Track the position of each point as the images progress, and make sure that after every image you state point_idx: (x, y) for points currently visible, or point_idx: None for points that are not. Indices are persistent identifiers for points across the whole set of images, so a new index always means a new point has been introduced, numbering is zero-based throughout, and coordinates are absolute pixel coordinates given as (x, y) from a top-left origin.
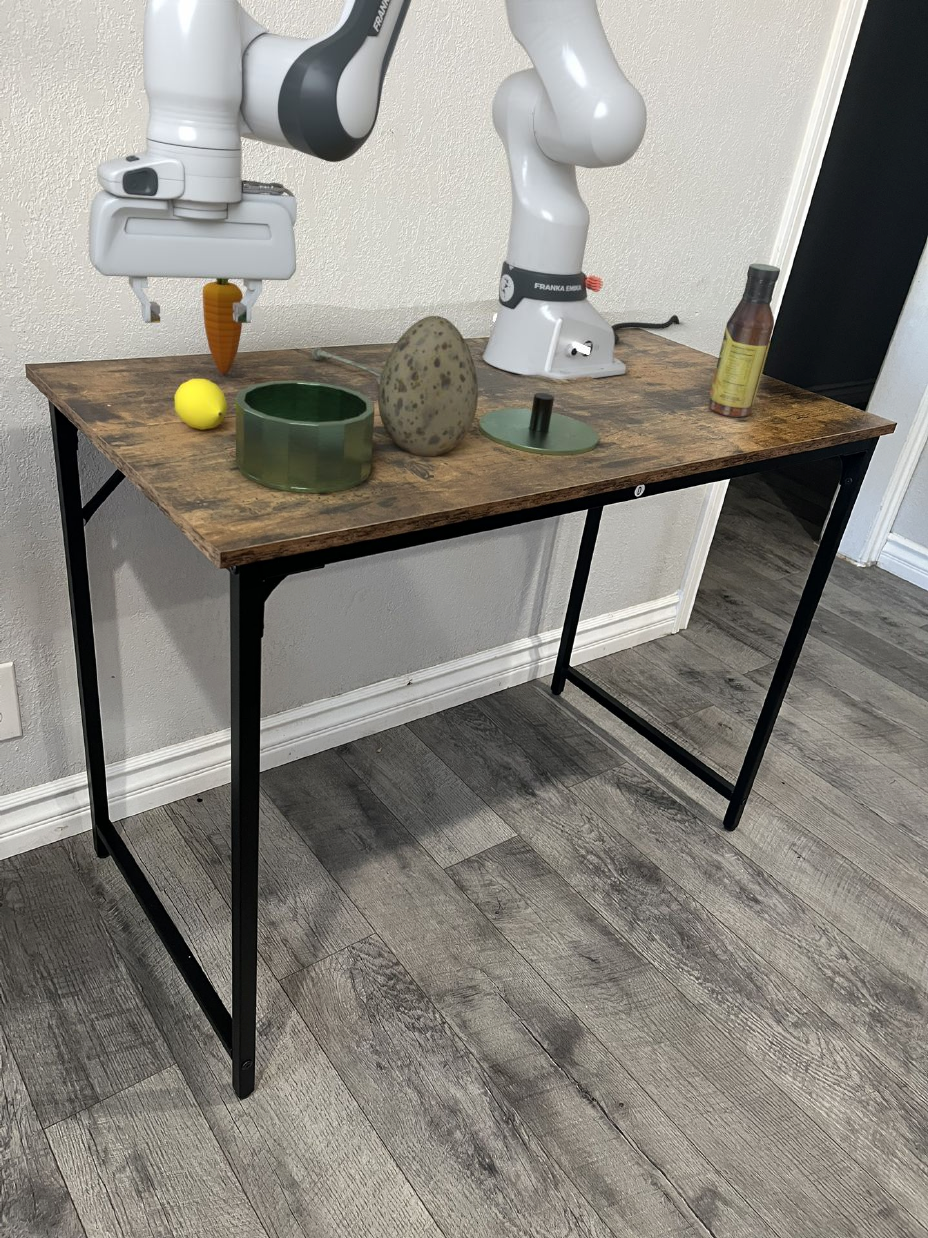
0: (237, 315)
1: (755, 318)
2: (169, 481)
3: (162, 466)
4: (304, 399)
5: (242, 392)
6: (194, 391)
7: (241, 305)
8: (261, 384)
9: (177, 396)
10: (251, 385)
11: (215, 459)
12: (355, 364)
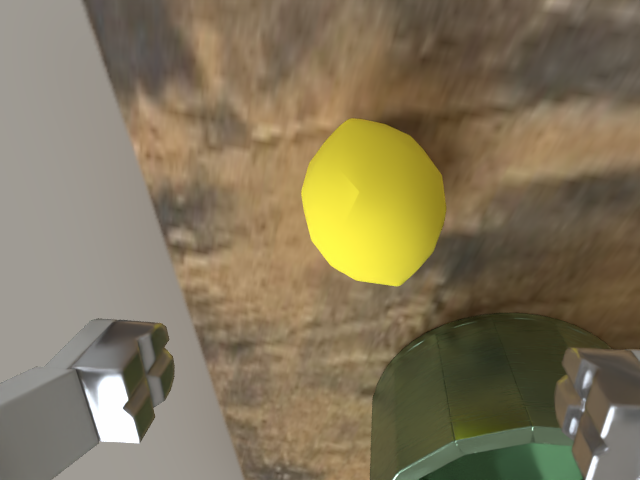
0: (571, 422)
1: None
2: (250, 405)
3: (248, 353)
4: None
5: (406, 477)
6: (341, 263)
7: (626, 468)
8: (488, 442)
9: (305, 211)
10: (455, 441)
11: (348, 349)
12: None
